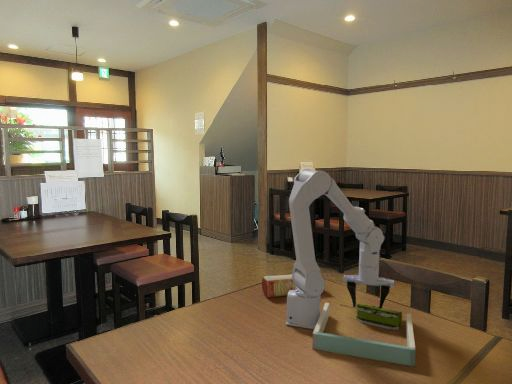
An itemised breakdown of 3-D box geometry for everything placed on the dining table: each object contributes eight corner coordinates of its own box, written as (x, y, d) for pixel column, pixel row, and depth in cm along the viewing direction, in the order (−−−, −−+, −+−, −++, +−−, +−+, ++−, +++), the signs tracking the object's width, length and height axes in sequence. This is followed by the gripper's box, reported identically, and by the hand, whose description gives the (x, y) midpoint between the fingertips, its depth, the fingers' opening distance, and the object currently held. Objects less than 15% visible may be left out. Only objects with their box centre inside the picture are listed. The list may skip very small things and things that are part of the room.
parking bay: (312, 348, 94) (312, 333, 94) (325, 315, 113) (325, 302, 112) (414, 366, 87) (415, 350, 86) (410, 327, 105) (411, 314, 104)
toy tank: (399, 317, 99) (406, 297, 108) (331, 303, 109) (341, 285, 117) (399, 340, 102) (406, 318, 110) (332, 323, 111) (343, 305, 119)
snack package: (317, 286, 136) (317, 268, 135) (325, 293, 130) (325, 275, 129) (261, 292, 131) (261, 274, 130) (266, 300, 125) (266, 280, 124)
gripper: (394, 262, 114) (392, 305, 116) (345, 258, 119) (344, 299, 121) (394, 270, 108) (392, 315, 109) (343, 265, 112) (342, 308, 114)
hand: (367, 307), depth 114 cm, fingers open, 7 cm apart
